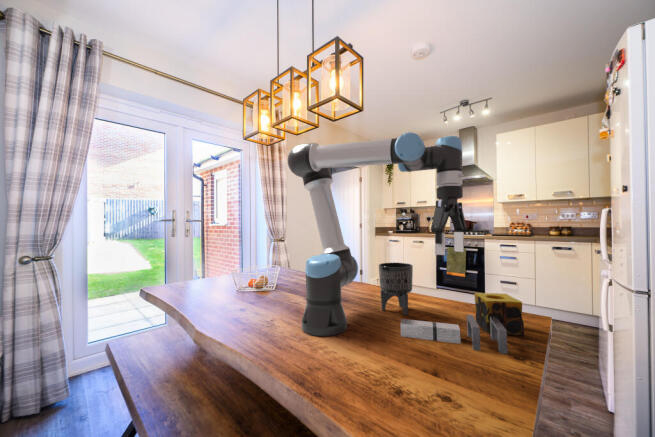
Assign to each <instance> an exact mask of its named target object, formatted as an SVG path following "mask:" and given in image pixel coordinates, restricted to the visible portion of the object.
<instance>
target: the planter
mask: <svg viewBox="0 0 655 437" xmlns="http://www.w3.org/2000/svg"><path fill="white" fill-rule="evenodd" d="M413 267H414V266H413V264H411V263H406V262H384V263H379V264H378V273H379V274H378V275H379V276H378V277H379V288H380V300H381V301H380V302H381V304H380V305H381V311H382V312H385V311H386V305H387V303H388V301H389V300H390V299H391V298H393V297H396V298H397V300H398V307H399V308H402V314H403V315H404V316H407V315H409V293H412V292H413V275H414V274H413V269H414V268H413Z"/></svg>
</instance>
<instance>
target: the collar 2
mask: <svg viewBox="0 0 655 437" xmlns="http://www.w3.org/2000/svg"><path fill="white" fill-rule="evenodd" d="M507 336H508V335H507V330H506V329H505V328H504V326H503V325H502V324H501V323H500V321H499V320H498V319H497V318H496V317H490V339H491V340H492V341H497V350H498V352H499V354H503V355H508V337H507Z"/></svg>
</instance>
